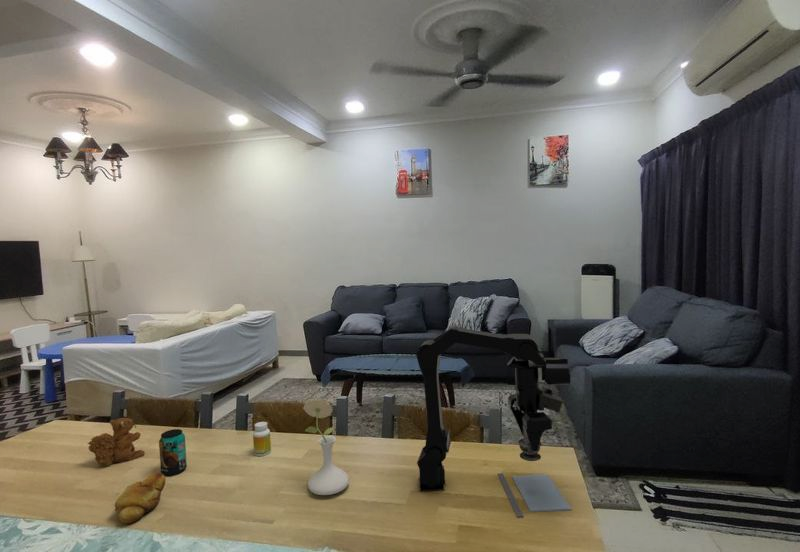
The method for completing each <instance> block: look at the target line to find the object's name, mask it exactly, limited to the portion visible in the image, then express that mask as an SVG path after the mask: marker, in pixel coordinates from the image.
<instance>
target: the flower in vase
mask: <svg viewBox="0 0 800 552" xmlns="http://www.w3.org/2000/svg"><path fill="white" fill-rule="evenodd" d="M303 410H304V411H305V413H306V414H307V415H308V416H310V417H312V418H316V421H315V422H316V427H314V426H308V427H307V428H305V430H304V432H306V433H307V432H308V433H312V434H317V433H319V434H320V436H319V438H318V439H317V443H318V444H319V445H320V446H321V450H322V456H323V464H322V466H321V467H320V468H319V469H317V470H316V471H315V473H314V474H312V476H311V477H310V478H309V479H308V482H307V488H308V489H309V491H310V492H311V493H312V494H315V495H320V496H331V495H334V494H338V493H341V492H343V490H345V489H346V488H347V486H349V483H350V477H349V475H348V473H347V472H345V471H344V470H343V469H341V468H340V467H338V466H336V465H335V464H334V463H333V458H332V454H333V445H334V443H335V441H336V440H337V439H336V436H334V435H330V434H331V433H332V432H333V431H334V430H335V427H336V425H334V426H332V427H329V428H327V429H326V430H324V432H323V433H322V432H321V430H320V429H319V426H318V425H319V424H318V423H319V422H318V419H319V418H320V419H324V418H327V417H329V416H332V413H333V410H334V409H333V406H331V402H328V401H327V400H323V398H316V397H315V398H310V400H307V401H305V403H304V406H303Z"/></svg>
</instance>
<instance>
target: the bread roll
mask: <svg viewBox="0 0 800 552" xmlns="http://www.w3.org/2000/svg"><path fill="white" fill-rule="evenodd" d="M165 485H166V476H165V475H163V474H162V473H161V472H155V473H152V474H151V475H149V476H148V477H146V478H145V479H143V480H142V481H136V482H134V483H132V484H130V485H127V486H126V488H125V489H124V491H123V492H122V493H121V494H120V495H119V496H118V497H117V498H116V500H115V502H114V507H115V509H114V511H115V512H116V514H117V515H118V518H119V520H120V522H122V523H123V524H130V523H134V522H136V521H138V520H140V519H141V518H142V517H143V516H144V515H145V514H146V513H148V512H150V511H152V510H154V508H156V507H157V505H158V504H159V503H160V500H161V496H162V491H163V490H164V488H165Z"/></svg>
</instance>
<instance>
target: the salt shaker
mask: <svg viewBox="0 0 800 552" xmlns="http://www.w3.org/2000/svg"><path fill="white" fill-rule="evenodd" d="M523 425H524V424H523ZM522 430H523V435H522V438H521V439H519V440H517V444H518V445H519V448H520V450H521V453H520V454H519V457H520V459H522V460H524V461H527V462H537V461H539V460H541V458H542V456H541V454H540V453H539V452H540V450H541V446H542V442H541V441H540V443H539V446H538V450H537V451H533V450H532V447H531V445H530V443H529V440H528V438H527V435H526V433H525V430H524V428H523V427H522Z"/></svg>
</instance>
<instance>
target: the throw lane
mask: <svg viewBox="0 0 800 552" xmlns="http://www.w3.org/2000/svg"><path fill="white" fill-rule="evenodd" d="M497 476H498V478H499V480H500V482H501V486H502V487H503V490H504V491H505V494H506V497H507V499H508V500H509V503H510V505H511V507H512V509H513V512H514V513H515V515H516V518H517V519H518V518H524V517H525V516H524V514H523V512H522V510H521V508H520V506H519V504H518V502H517V500H516V498H515V496H514V494H513V492H512V489H511V487H510V485H509V483H508V481H507V479H506V477H505V475H504V473H503V472H499V473H498V472H497ZM511 478H512V479H513V481H514V483H515V485H516V487H517V488H518V490H519V493H520V495H521V497H522V498H523V500H524V502H525V505H526V506H527V508H528V511H529V512H530V513H535V512H536V513H539V512H561V511H572V508H571V507H572V506H570V505H569V502H567V499H565V497H564V495H563V494H562V493H561V491H560V490H559V488H558V487H557V486H556V484H555V482H554V481H553V480H552V478H551V477H550V476H549V474H532V475H512V477H511Z"/></svg>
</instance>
